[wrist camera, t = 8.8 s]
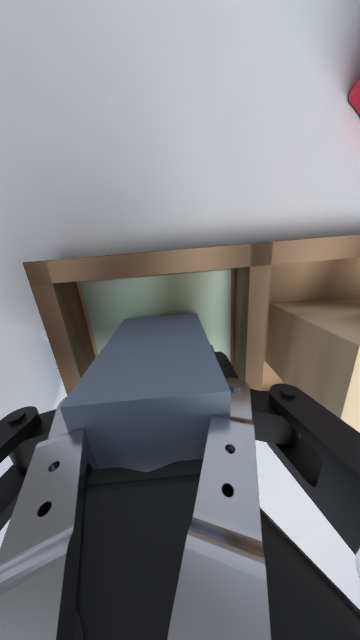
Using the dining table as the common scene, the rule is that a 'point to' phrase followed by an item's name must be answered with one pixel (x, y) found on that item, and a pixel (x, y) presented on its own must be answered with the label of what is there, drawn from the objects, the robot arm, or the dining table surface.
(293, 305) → the oak block
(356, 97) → the ink box
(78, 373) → the tray
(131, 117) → the dining table surface
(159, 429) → the slate block
